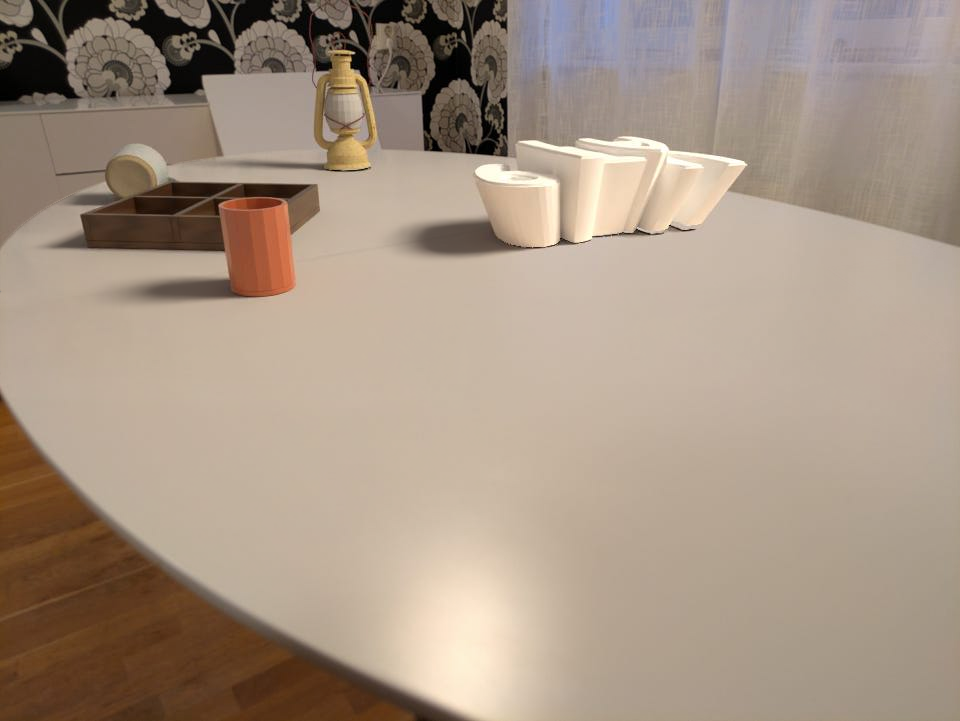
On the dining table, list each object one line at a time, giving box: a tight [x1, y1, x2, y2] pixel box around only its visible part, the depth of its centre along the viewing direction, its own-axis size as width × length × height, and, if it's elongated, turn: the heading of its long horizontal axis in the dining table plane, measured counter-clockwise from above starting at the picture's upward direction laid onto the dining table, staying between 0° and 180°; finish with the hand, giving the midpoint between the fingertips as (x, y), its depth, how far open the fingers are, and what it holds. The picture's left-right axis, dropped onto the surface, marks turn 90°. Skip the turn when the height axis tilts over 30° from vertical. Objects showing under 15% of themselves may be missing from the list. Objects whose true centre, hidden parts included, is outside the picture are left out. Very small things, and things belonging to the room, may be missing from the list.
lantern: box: [308, 0, 378, 170], centre depth 125 cm, size 12×10×30 cm
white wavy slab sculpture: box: [472, 136, 748, 249], centre depth 85 cm, size 35×16×11 cm, turn 111°
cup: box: [218, 197, 297, 297], centre depth 63 cm, size 6×6×8 cm
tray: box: [79, 181, 321, 251], centre depth 86 cm, size 21×21×4 cm
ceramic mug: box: [104, 143, 182, 200], centre depth 101 cm, size 11×8×8 cm
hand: (274, 3), depth 80 cm, fingers open, 8 cm apart
